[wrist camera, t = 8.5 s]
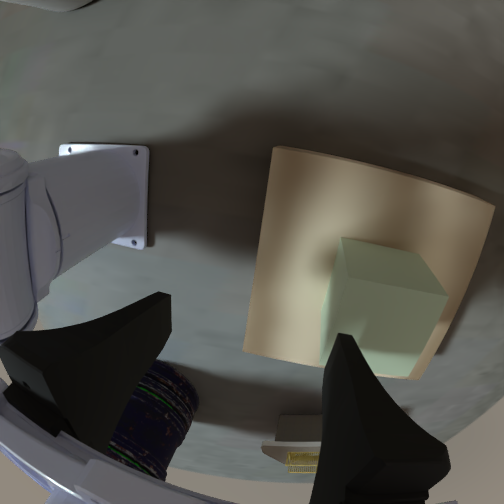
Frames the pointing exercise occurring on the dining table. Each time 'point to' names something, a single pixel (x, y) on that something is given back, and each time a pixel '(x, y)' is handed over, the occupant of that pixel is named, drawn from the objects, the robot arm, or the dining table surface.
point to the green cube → (381, 305)
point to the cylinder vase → (53, 4)
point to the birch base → (357, 228)
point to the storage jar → (154, 421)
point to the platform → (296, 441)
